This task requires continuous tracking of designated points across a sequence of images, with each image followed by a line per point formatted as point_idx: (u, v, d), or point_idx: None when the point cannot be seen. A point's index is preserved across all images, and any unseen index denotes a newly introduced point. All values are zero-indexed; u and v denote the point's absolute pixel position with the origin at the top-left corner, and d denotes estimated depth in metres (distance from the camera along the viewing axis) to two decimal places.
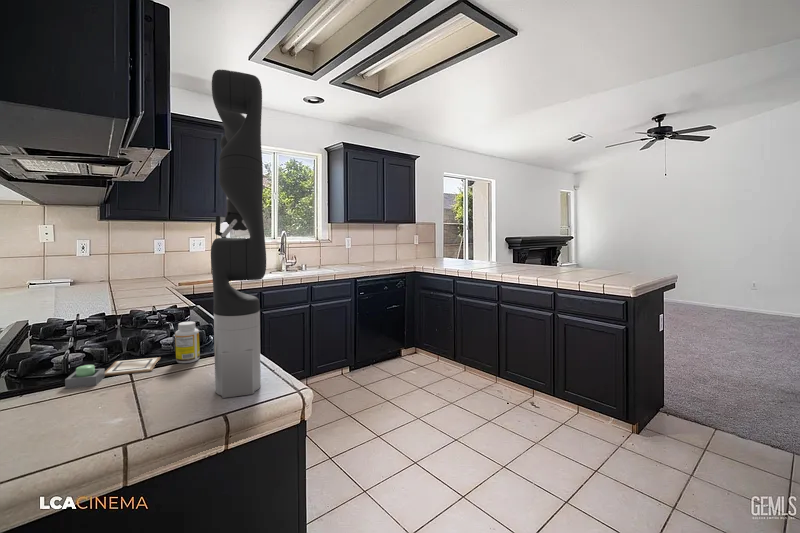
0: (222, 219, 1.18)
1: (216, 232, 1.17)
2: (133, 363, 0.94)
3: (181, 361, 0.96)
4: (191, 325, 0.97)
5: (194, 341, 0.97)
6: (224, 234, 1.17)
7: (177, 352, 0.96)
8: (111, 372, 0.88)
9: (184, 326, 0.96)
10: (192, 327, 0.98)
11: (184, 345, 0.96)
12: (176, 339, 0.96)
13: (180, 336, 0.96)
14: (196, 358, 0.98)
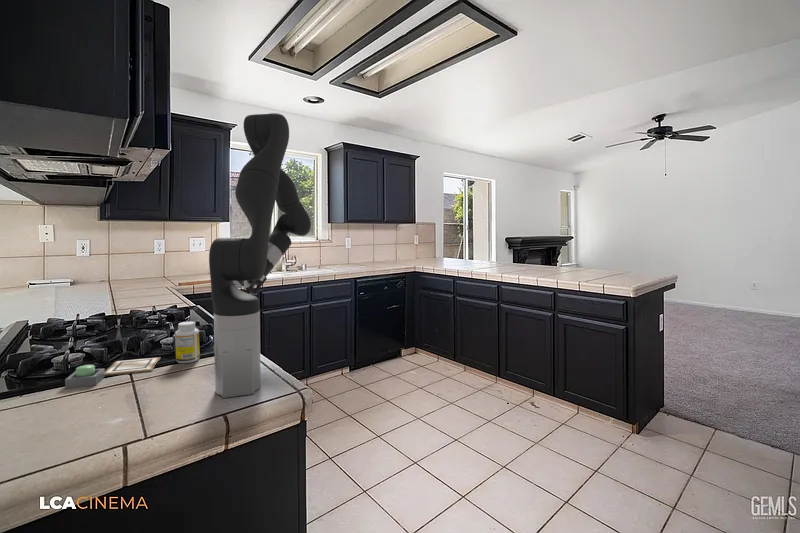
0: None
1: None
2: (133, 363, 0.94)
3: (181, 361, 0.96)
4: (191, 325, 0.97)
5: (194, 341, 0.97)
6: None
7: (177, 352, 0.96)
8: (111, 372, 0.88)
9: (184, 326, 0.96)
10: (192, 327, 0.98)
11: (184, 345, 0.96)
12: (176, 339, 0.96)
13: (180, 336, 0.96)
14: (196, 358, 0.98)
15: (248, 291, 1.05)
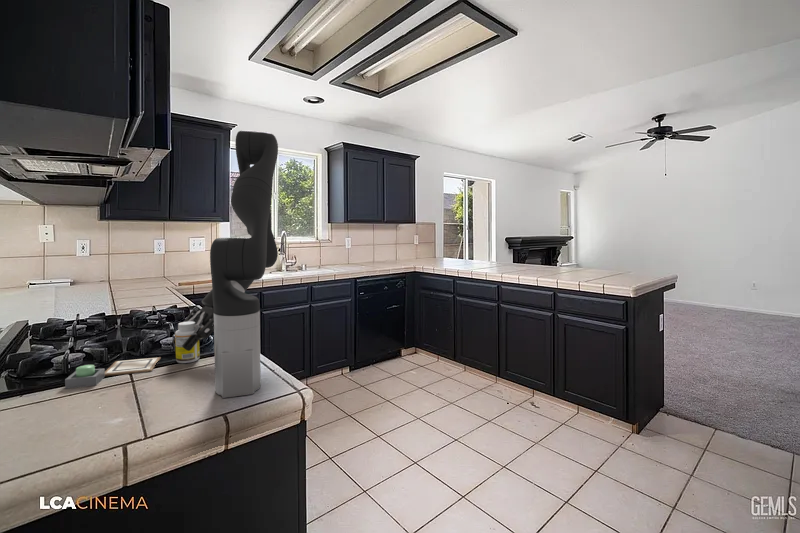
0: (196, 313, 1.05)
1: None
2: (133, 363, 0.94)
3: (181, 361, 0.96)
4: (191, 325, 0.97)
5: None
6: None
7: (177, 352, 0.96)
8: (111, 372, 0.88)
9: (184, 326, 0.96)
10: (192, 327, 0.98)
11: None
12: (176, 339, 0.96)
13: (180, 336, 0.96)
14: (196, 358, 0.98)
15: (198, 336, 0.96)
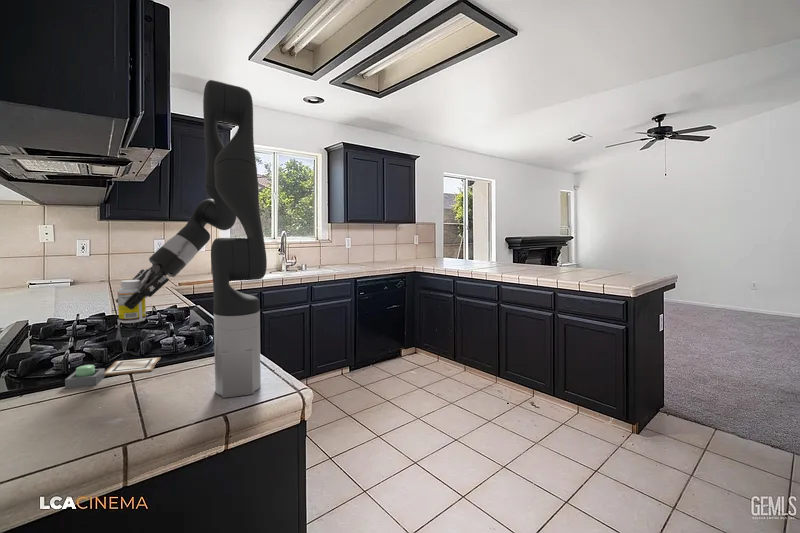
0: None
1: None
2: (133, 363, 0.94)
3: (124, 320, 0.90)
4: (135, 282, 0.91)
5: None
6: None
7: (119, 311, 0.90)
8: (111, 372, 0.88)
9: (127, 283, 0.90)
10: (136, 285, 0.91)
11: None
12: (118, 297, 0.90)
13: (122, 294, 0.89)
14: (141, 318, 0.92)
15: (142, 294, 0.90)
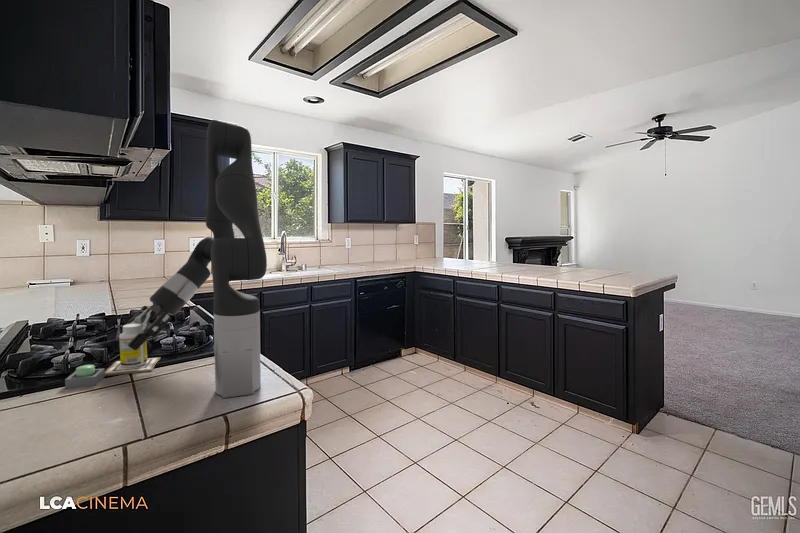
0: None
1: (129, 320, 0.98)
2: None
3: (125, 365, 0.91)
4: (136, 327, 0.92)
5: None
6: (130, 323, 0.96)
7: (121, 356, 0.91)
8: (111, 372, 0.88)
9: (128, 328, 0.91)
10: (138, 329, 0.92)
11: (128, 348, 0.91)
12: (120, 342, 0.91)
13: (124, 339, 0.90)
14: (142, 362, 0.93)
15: (146, 334, 0.90)
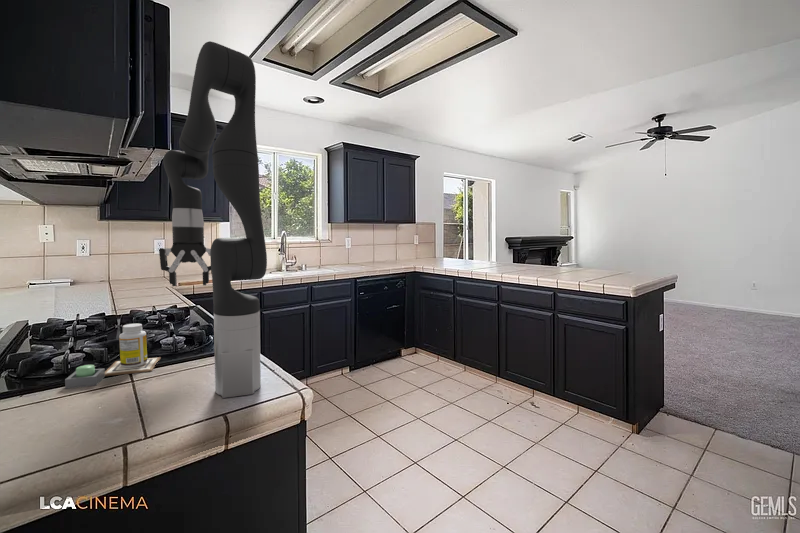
0: (167, 251, 1.00)
1: (162, 267, 0.99)
2: None
3: (125, 365, 0.91)
4: (136, 327, 0.92)
5: (139, 344, 0.92)
6: (172, 269, 1.00)
7: (121, 356, 0.91)
8: (111, 372, 0.88)
9: (128, 328, 0.91)
10: (138, 329, 0.92)
11: (128, 348, 0.91)
12: (120, 342, 0.91)
13: (124, 339, 0.90)
14: (142, 362, 0.93)
15: None
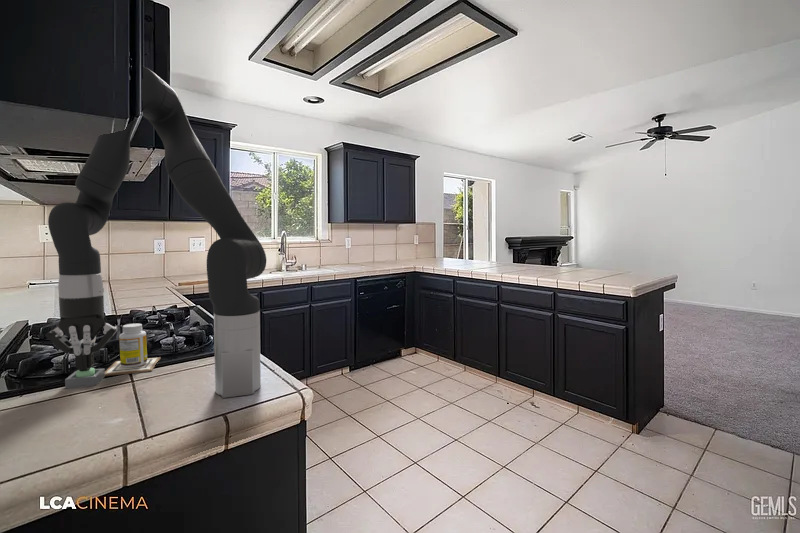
0: (57, 331, 0.81)
1: (65, 350, 0.81)
2: None
3: (125, 365, 0.91)
4: (136, 327, 0.92)
5: (139, 344, 0.92)
6: (77, 351, 0.82)
7: (121, 356, 0.91)
8: (111, 372, 0.88)
9: (128, 328, 0.91)
10: (138, 329, 0.92)
11: (128, 348, 0.91)
12: (120, 342, 0.91)
13: (124, 339, 0.90)
14: (142, 362, 0.93)
15: (94, 351, 0.84)
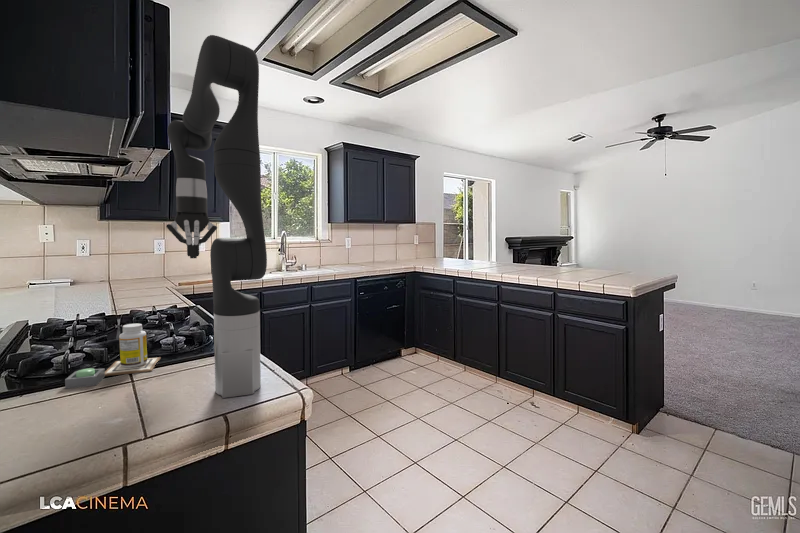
0: (174, 224, 1.02)
1: (180, 240, 1.02)
2: None
3: (125, 365, 0.91)
4: (136, 327, 0.92)
5: (139, 344, 0.92)
6: (189, 241, 1.03)
7: (121, 356, 0.91)
8: (111, 372, 0.88)
9: (128, 328, 0.91)
10: (138, 329, 0.92)
11: (128, 348, 0.91)
12: (120, 342, 0.91)
13: (124, 339, 0.90)
14: (142, 362, 0.93)
15: (200, 243, 1.05)
